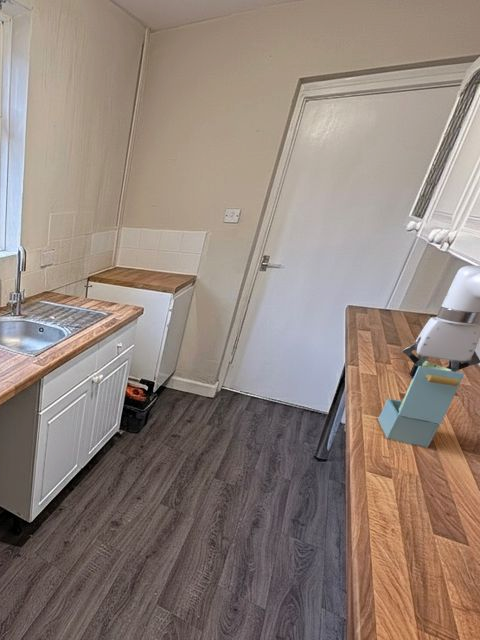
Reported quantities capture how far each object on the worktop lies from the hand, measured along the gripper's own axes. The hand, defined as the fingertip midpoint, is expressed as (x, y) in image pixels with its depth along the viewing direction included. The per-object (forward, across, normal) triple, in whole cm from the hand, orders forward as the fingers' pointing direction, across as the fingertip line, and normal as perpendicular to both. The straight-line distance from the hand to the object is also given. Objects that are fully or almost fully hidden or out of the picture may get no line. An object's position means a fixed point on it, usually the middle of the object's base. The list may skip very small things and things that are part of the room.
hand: (427, 380), depth 112 cm
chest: (+17, 0, 0) cm, 17 cm away
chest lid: (+2, 0, +5) cm, 6 cm away
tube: (+15, 0, 0) cm, 15 cm away
